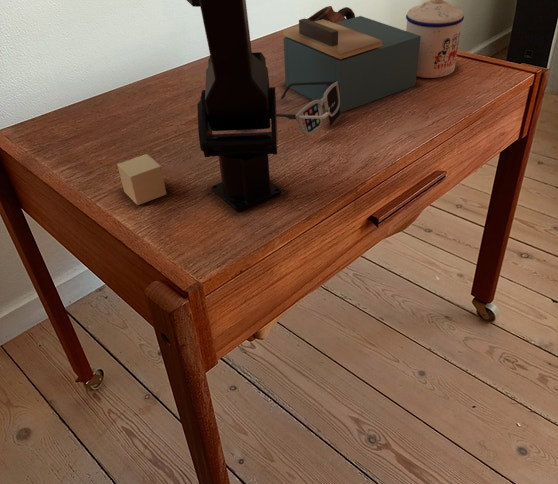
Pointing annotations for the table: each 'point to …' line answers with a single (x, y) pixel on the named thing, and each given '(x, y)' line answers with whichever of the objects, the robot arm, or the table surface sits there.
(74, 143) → the table surface
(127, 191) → the block
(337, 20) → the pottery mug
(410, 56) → the box
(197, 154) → the table surface
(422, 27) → the teacup with lid
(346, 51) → the sliding lid
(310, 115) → the smart glasses
